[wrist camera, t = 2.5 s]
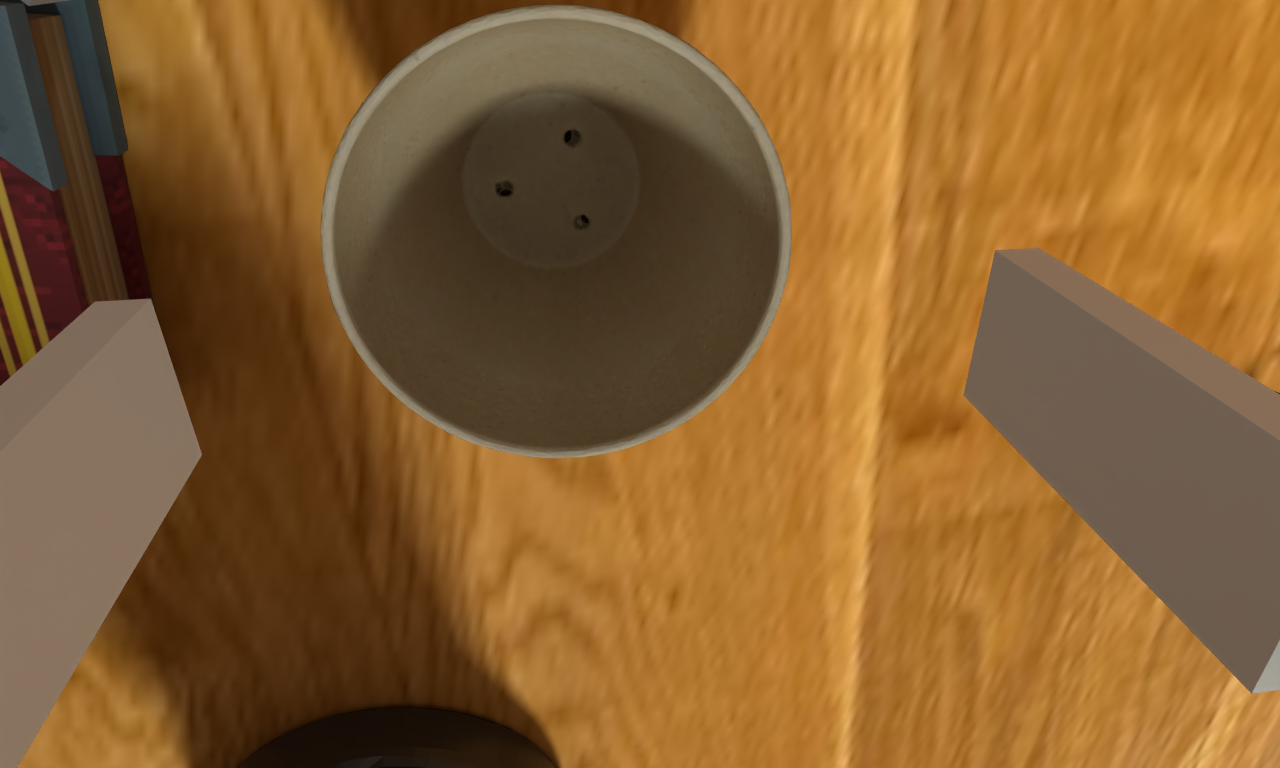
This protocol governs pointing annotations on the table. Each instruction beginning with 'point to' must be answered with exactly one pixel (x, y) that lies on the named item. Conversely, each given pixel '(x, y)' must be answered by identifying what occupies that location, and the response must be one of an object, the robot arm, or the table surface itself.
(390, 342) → the flower pot
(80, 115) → the decorative book
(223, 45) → the table surface
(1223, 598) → the robot arm
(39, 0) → the grey open tray
